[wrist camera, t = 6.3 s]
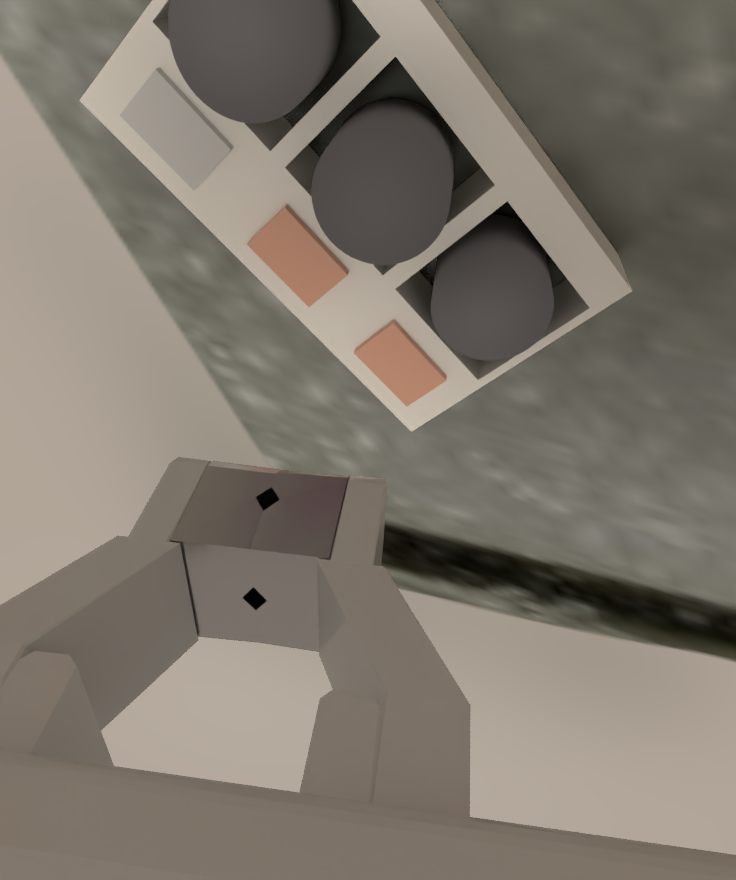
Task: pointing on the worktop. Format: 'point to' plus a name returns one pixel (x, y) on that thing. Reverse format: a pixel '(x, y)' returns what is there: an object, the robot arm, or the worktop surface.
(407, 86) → the worktop surface
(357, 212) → the button middle
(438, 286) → the button
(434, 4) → the button board
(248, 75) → the button
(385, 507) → the robot arm
